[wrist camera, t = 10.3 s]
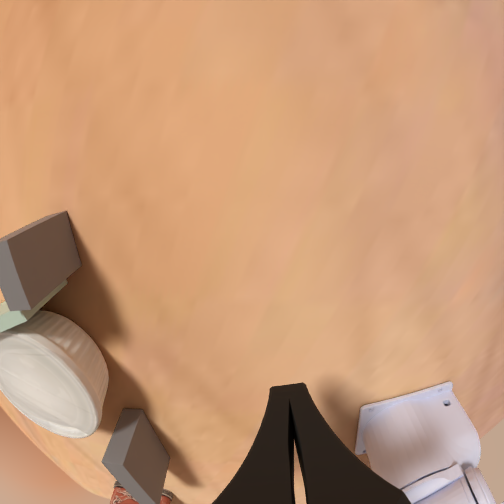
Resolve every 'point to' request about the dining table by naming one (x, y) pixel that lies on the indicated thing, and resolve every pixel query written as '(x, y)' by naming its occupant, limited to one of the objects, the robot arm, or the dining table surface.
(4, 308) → the door
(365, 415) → the robot arm
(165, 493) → the lighter
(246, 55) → the dining table surface
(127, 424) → the grey angled pieces
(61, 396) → the ramekin
